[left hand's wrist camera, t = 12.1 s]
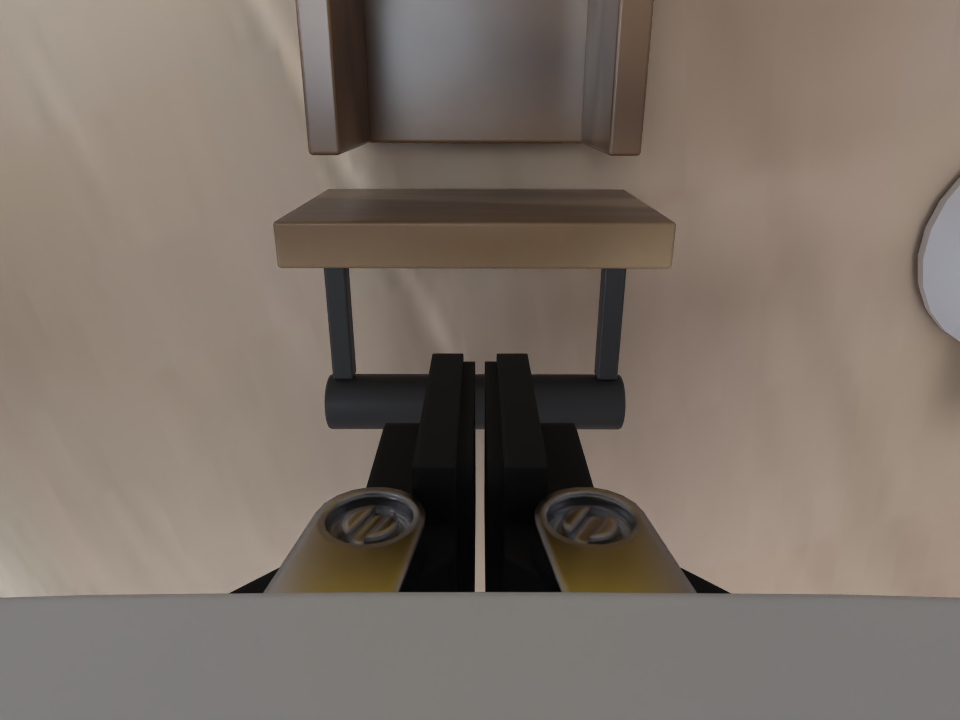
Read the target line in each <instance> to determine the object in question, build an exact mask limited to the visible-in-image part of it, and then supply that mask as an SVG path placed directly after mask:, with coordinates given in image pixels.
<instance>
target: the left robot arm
mask: <svg viewBox="0 0 960 720" xmlns="http://www.w3.org/2000/svg"><path fill="white" fill-rule="evenodd" d="M475 509H476V483H475V362H463V354H433V355H432V360H431V365H430V371H429V376H428V382H427V387H426V392H425V398H424V403H423V408H422V414H421V419H420V423H386V424H385V426H384V429H383V432H382V436H381V439H380V443H379V446H378V449H377V453H376V456H375V460H374V463H373V467H372V470H371V473H370V477H369V480H368V484H367V487H366V488H362V489H356V490H351V491H349V492H346V493H343V494H340V495H337V496H336V497H334V498H332V499H331V500H329V501H328V502H326V503H324V505H323V506H322V507H321V508H320V509H319V510H318V511H317V512H316V513H315V515H314V516H313V518H312V519H311V521H310V522H309V524H308V525H307V527H306V528H305V530H304V531H303V533H302V535H301V536H300V538H299V539H298V541H297V542H296V544H295V545H294V547H293V548H292V550H291V551H290V553H289V554H288V556H287V557H286V559H285V560H284V562H283V563H282V565H281V566H280V568H278V569H276V570H274V571H272V572H270V573H268V574H266V575H264V576H262V577H260V578H258V579H256V580H254V581H252V582H250V583H248V584H247V585H245V586H243V587H241V588H239V589H237V590H235V591H233V592H231V593H229V594H148V595H78V596H46V597H14V598H0V720H960V598H949V597H912V596H875V595H830V594H731V593H729V592H727V591H725V590H723V589H721V588H719V587H717V586H715V585H713V584H712V583H710V582H708V581H706V580H704V579H702V578H700V577H698V576H696V575H694V574H692V573H690V572H688V571H686V570H684V569H682V568H680V566H679V565H678V563H677V562H676V560H675V559H674V557H673V556H672V554H671V553H670V551H669V550H668V548H667V547H666V545H665V544H664V542H663V541H662V539H661V538H660V536H659V535H658V533H657V531H656V530H655V528H654V527H653V525H652V524H651V522H650V521H649V519H648V518H647V516H646V515H645V513H644V512H643V511H642V510H641V509H640V508H639V507H638V506H637V505H636V503H634V502H632V501H631V500H629V499H628V498H626V497H624V496H623V495H620V494H617V493H614V492H611V491H609V490H604V489H598V488H594V487H593V484H592V480H591V477H590V473H589V470H588V467H587V463H586V460H585V456H584V453H583V449H582V446H581V443H580V439H579V436H578V432H577V429H576V426H575V424H574V423H540V419H539V414H538V408H537V403H536V398H535V392H534V387H533V382H532V376H531V371H530V365H529V360H528V355H527V354H497V362H485V483H484V509H485V592H475Z"/></svg>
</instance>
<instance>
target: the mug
mask: <svg viewBox="0 0 960 720" xmlns="http://www.w3.org/2000/svg"><path fill="white" fill-rule="evenodd" d="M918 286H919V289H920V292H921V295H922V299H923V302H924V305H925V308H926V310H927V311H928V313H929V314H930V316H931V317H932V318H933V320H934V321H935V322H936V324H937V325H938V326H939V328H940V329H941V330H943V331H944V332H946V333H947V334H949V335H950V336H952V337H953V338H954V339H956V340H957V341H959V342H960V177H959V178H958V180H957V181H956V182H955V183H954V184H953V185H952V187H951V188H950V189H949V190H948V191H947V192H946V194H945V195H944V196H943V197H942V198H941V200H940V201H939V203H938V205H937V207H936V209H935V210H934V212H933V214H932V216H931V218H930V220H929V222H928V223H927V225H926V227H925V230H924V234H923V238H922V242H921V245H920V249H919V253H918Z"/></svg>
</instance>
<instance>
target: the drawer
mask: <svg viewBox="0 0 960 720" xmlns="http://www.w3.org/2000/svg"><path fill="white" fill-rule="evenodd" d="M653 3H654V0H296V12H297V23H298V34H299V46H300V57H301V68H302V80H303V91H304V103H305V114H306V125H307V137H308V148H309V153H310V154H312V155H339V154H342V153H344V152H347V151H349V150H352V149H354V148H356V147H359V146H361V145H364V144H366V143H584V144H586V145H588V146H591V147H593V148H595V149H597V150H600V151H602V152H604V153H607V154H609V155H611V156H637V155H640V153H641V143H642V131H643V119H644V108H645V96H646V84H647V73H648V61H649V49H650V38H651V26H652V14H653ZM273 225H274V234H275V243H276V252H277V261H278V266H279V267H281V268H324V275H325V287H326V298H327V310H328V322H329V334H330V345H331V357H332V369H333V374H332V375H330V376H329V378H328V381H327V385H326V390H325V415H326V421H327V424H328V426H329V428H331V429H384V426H385V424H386V423H420V419H421V414H422V408H423V403H424V398H425V392H426V387H427V382H428V376H429V374H355V373H356V363H355V349H354V335H353V321H352V307H351V292H350V278H349V268H602V270H601V284H600V299H599V313H598V327H597V342H596V356H595V370H594V372H595V374H596V375H587V374H531V376H532V382H533V387H534V392H535V398H536V403H537V408H538V414H539V419H540V423H574V424H575V426H576V429H620V428H621V427H622V425H623V422H624V417H625V389H624V384H623V380H622V378H621V376H620V375H617V374H618V362H619V350H620V338H621V326H622V314H623V302H624V290H625V278H626V269H668V268H670V267H671V265H672V256H673V247H674V238H675V229H676V224H675V222H673V221H671V220H670V219H668V218H667V217H665V216H664V215H662V214H660V213H659V212H657V211H656V210H654V209H653V208H651V207H650V206H648V205H646V204H645V203H643V202H642V201H640V200H639V199H637V198H636V197H634V196H632V195H631V194H629V193H628V192H626V191H625V190H481V189H329V190H327V191H325V192H323V193H322V194H320V195H318V196H317V197H315V198H313V199H312V200H310V201H308V202H307V203H305V204H303V205H302V206H300V207H298V208H297V209H295V210H293V211H292V212H290V213H288V214H287V215H285V216H284V217H282V218H280V219H279V220H277V221H275V222H274V224H273ZM475 429H485V374H475Z"/></svg>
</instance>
